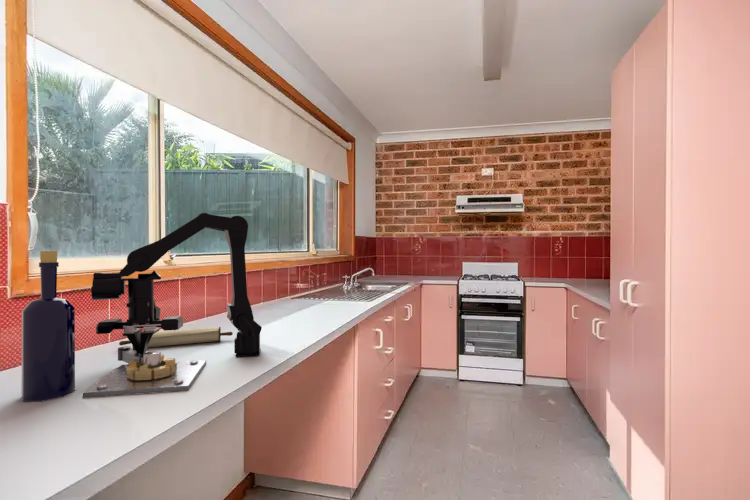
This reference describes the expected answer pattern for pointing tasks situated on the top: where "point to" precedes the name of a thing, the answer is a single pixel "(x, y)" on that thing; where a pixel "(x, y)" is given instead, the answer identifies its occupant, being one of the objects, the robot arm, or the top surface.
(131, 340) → the robot arm
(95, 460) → the top surface
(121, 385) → the flange plate
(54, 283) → the bottle
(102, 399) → the top surface
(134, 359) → the lever handle
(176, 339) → the rolling pin
